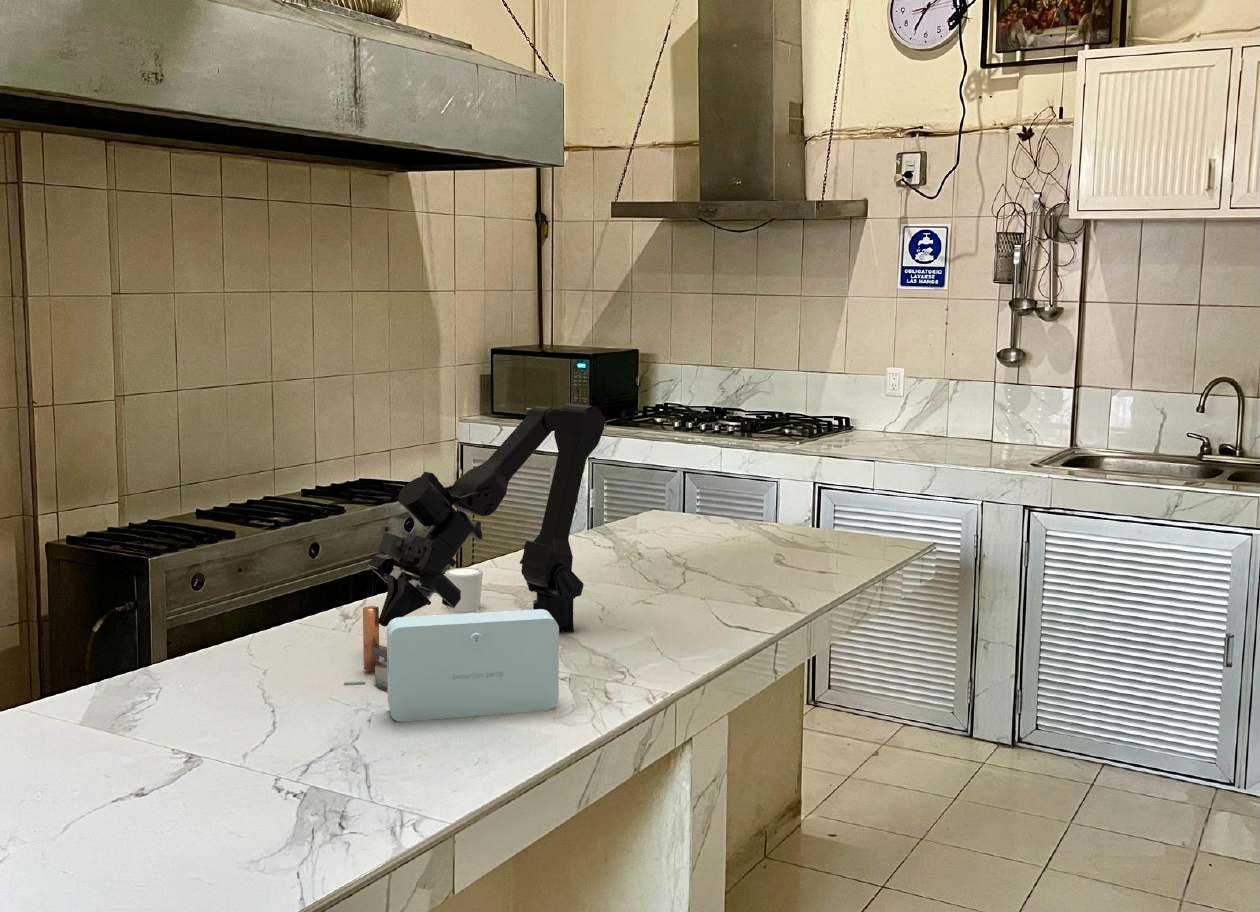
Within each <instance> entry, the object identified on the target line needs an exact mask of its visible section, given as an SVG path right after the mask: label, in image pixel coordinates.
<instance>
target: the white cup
mask: <svg viewBox="0 0 1260 912" xmlns="http://www.w3.org/2000/svg"><path fill="white" fill-rule="evenodd" d="M483 574H484V571H483V570H482V569H479V568H475V567H455V568H450V569H448V570H446V571H445V572H444V575H445V576H446V577H447V578H448V579H449V580H450V581H451V582H452V583H453V584H454V585H455V586H456V587H457V588H458V589H460V590H461V600H460V601H459V602H458V604H457V605H456V607H455V608H454V609H453V608H450V607H448V610H449V611H451V612H453V613H457V614H466V613H475V612H477V611H479V610H480V608H481V599H482V585H483V576H484V575H483Z"/></svg>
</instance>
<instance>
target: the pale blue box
mask: <svg viewBox="0 0 1260 912" xmlns="http://www.w3.org/2000/svg"><path fill="white" fill-rule="evenodd" d="M559 644H560V632H559V626H558V624H557V623H556V621H555V620H554V619H553V617H552V616H551V615H550V613H549V612H548V611H546V610H543V609H536V610H533V609H524V610H523V609H521V610H507V611H501V610H500V611H487V612H467V613H456V614H455V613H453V614H452V613H450V614H436V615H433V614H432V615H418V616H417V615H415V616H404V617H398V618H394V619H392V620H391V621H390V622H389V624H388V626H386V647H387V681H388V691H387V702H388V708H389V713H390V716H391V718H393V720H395V721H396V722H402V723H403V722H414V721H426V720H438V719H450V718H452V719H453V718H461V717H462V718H464V717H474V716H487V715H488V716H489V715H499V714H501V715H502V714H512V713H513V714H514V713H523V712H527V713H528V712H536V711H537V712H538V711H548V710H552V709H554V708H556V706H557V704H558V702H559V697H560V694H559V690H560V689H559V688H560V687H559V685H560V684H559V681H560V679H559V678H560V677H559V674H560V671H559V670H560V669H559V668H560V663H559V662H560V661H559V659H560V658H559V657H560V656H559V655H560V652H559V651H560V645H559Z"/></svg>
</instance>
